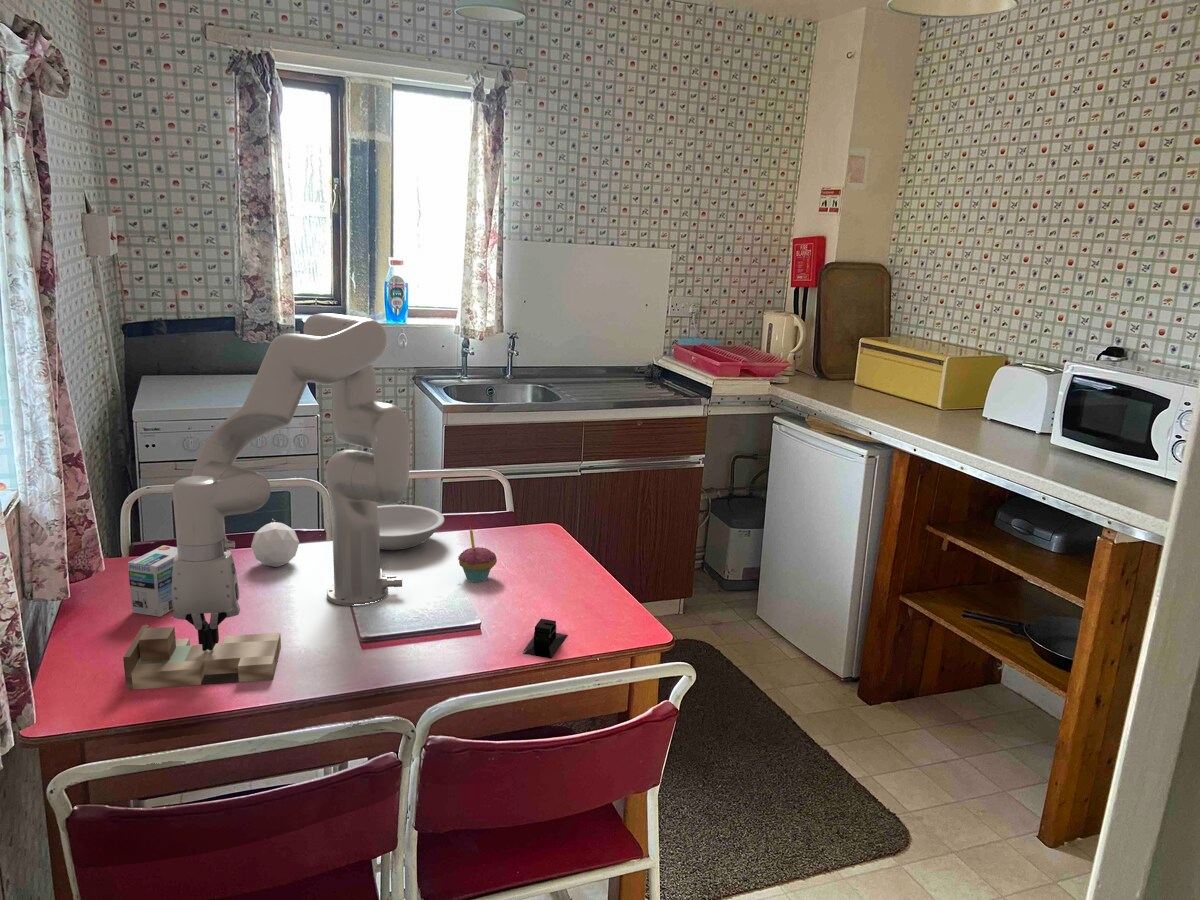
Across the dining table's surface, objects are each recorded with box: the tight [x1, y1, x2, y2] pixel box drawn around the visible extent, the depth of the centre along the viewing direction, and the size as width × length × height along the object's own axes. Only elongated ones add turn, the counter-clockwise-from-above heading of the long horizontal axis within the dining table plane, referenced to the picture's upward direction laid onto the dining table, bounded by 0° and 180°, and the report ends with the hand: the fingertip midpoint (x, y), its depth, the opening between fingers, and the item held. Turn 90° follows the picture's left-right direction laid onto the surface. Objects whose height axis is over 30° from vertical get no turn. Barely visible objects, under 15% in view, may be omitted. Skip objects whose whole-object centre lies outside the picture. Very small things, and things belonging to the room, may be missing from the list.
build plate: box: [521, 618, 569, 660], centre depth 167 cm, size 13×8×5 cm, turn 165°
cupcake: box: [457, 526, 498, 583], centre depth 196 cm, size 9×8×12 cm
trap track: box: [122, 624, 282, 691], centre depth 152 cm, size 23×12×6 cm, turn 103°
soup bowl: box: [377, 504, 445, 551], centre depth 215 cm, size 24×24×7 cm
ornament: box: [250, 518, 300, 568], centre depth 200 cm, size 10×10×15 cm
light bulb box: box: [127, 545, 178, 618], centre depth 175 cm, size 11×7×11 cm, turn 168°
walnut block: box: [139, 626, 176, 661], centre depth 150 cm, size 4×4×4 cm
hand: (209, 646), depth 152 cm, fingers closed
